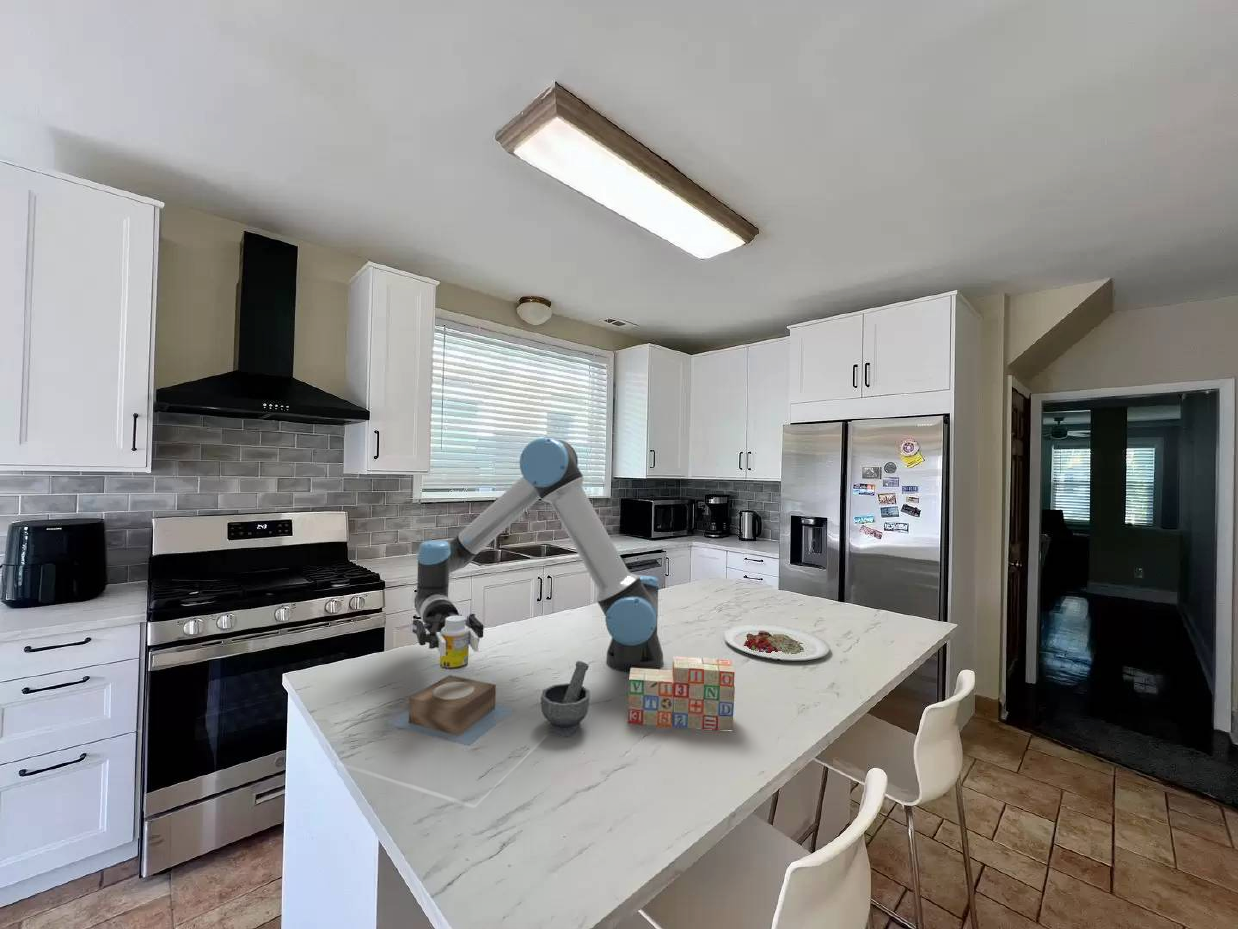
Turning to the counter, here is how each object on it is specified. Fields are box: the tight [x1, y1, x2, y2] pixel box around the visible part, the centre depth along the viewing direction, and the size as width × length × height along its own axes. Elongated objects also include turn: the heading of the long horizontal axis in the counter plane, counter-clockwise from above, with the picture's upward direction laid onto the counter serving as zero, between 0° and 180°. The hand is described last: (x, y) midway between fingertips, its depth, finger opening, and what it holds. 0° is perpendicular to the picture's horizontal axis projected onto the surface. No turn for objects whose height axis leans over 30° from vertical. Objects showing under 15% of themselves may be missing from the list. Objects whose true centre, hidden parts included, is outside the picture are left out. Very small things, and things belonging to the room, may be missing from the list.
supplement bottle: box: [439, 615, 470, 673], centre depth 106 cm, size 6×6×10 cm
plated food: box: [723, 624, 831, 661], centre depth 154 cm, size 30×30×3 cm
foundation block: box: [408, 674, 497, 736], centre depth 106 cm, size 12×12×5 cm
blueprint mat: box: [384, 702, 517, 746], centre depth 106 cm, size 20×16×1 cm
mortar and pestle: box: [540, 660, 591, 738], centre depth 103 cm, size 11×9×12 cm
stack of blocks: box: [627, 656, 736, 731], centre depth 107 cm, size 21×6×12 cm, turn 85°
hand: (460, 646), depth 101 cm, fingers closed on supplement bottle, 6 cm apart
